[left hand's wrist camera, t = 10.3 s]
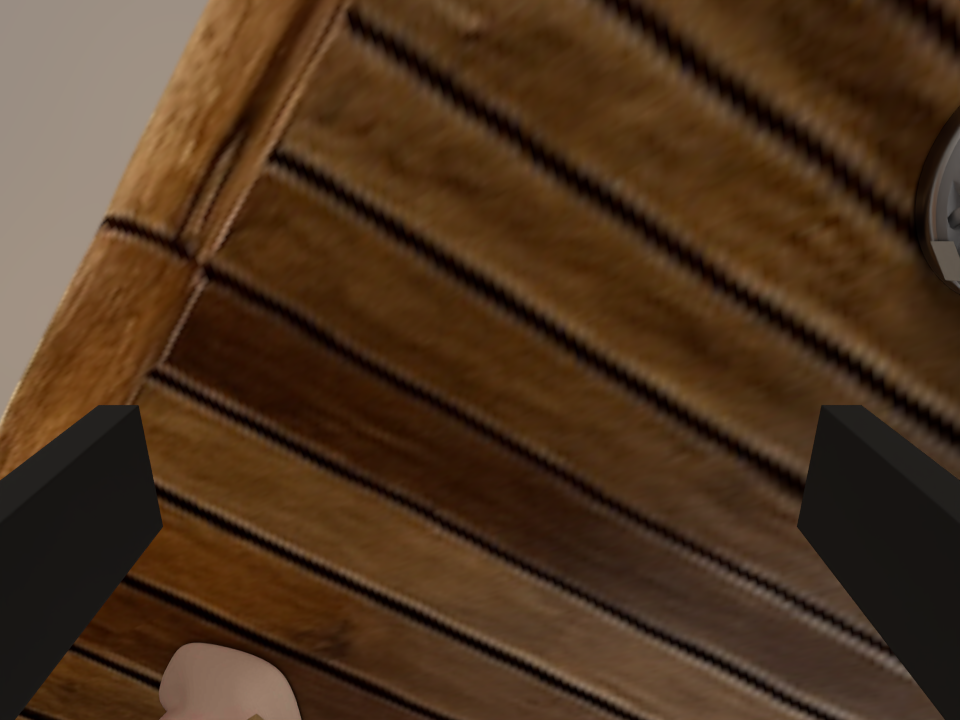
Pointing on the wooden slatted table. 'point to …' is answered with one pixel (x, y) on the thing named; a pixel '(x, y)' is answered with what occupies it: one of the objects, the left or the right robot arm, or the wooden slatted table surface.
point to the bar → (255, 717)
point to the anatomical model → (224, 686)
